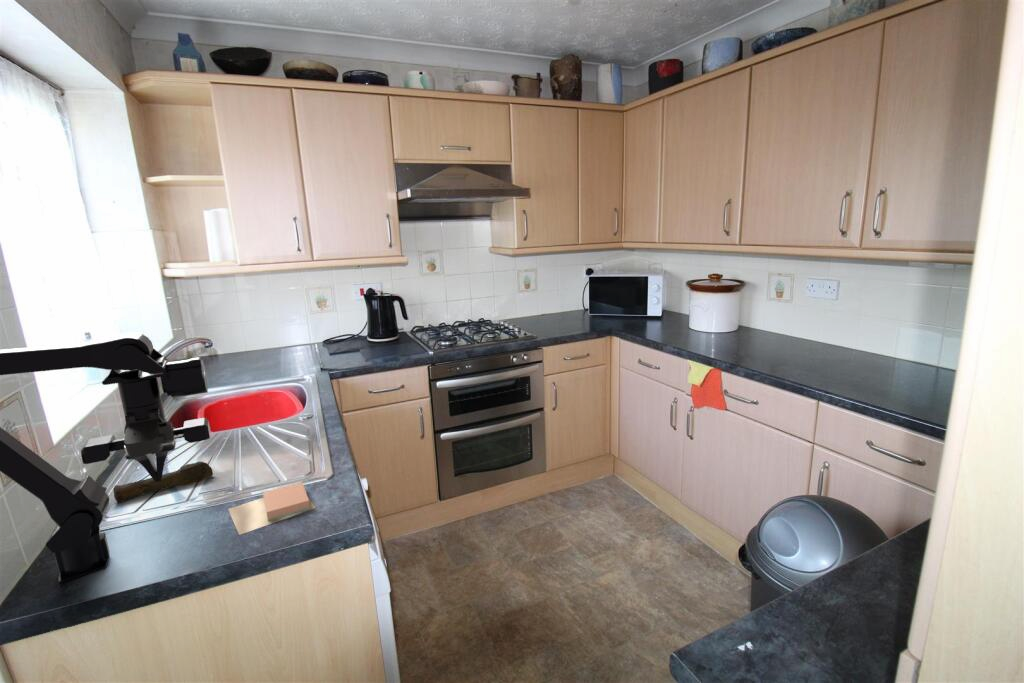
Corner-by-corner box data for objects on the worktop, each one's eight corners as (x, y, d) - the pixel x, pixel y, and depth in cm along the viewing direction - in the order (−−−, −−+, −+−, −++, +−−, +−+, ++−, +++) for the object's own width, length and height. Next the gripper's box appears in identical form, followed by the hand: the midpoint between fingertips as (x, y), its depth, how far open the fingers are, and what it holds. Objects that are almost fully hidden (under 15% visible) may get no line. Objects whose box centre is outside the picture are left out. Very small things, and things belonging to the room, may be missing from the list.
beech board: (240, 540, 96) (239, 534, 96) (228, 514, 105) (228, 509, 105) (316, 512, 105) (315, 507, 104) (300, 490, 114) (299, 486, 114)
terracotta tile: (266, 512, 100) (308, 500, 103) (262, 492, 107) (302, 482, 111) (267, 521, 100) (310, 509, 104) (264, 501, 108) (303, 490, 112)
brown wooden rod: (115, 507, 110) (110, 488, 109) (117, 499, 113) (112, 480, 112) (213, 481, 120) (210, 464, 119) (212, 475, 123) (209, 457, 122)
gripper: (63, 429, 78) (85, 517, 82) (201, 405, 87) (216, 485, 91) (79, 408, 88) (99, 488, 91) (203, 388, 97) (216, 462, 100)
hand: (158, 481), depth 93 cm, fingers closed
